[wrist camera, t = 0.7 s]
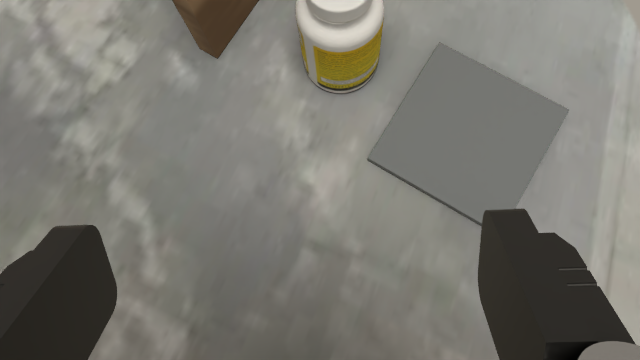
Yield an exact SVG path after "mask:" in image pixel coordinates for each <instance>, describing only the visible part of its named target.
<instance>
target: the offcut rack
mask: <svg viewBox="0 0 640 360" xmlns="http://www.w3.org/2000/svg"><path fill="white" fill-rule="evenodd" d="M172 1H173V2H174V4H175V6H176V8H177V9H178V11H179V13H180V15H181V16H182V18H183V20H184V22H185V23H186V25H187V27H188V29H189V30H190V32H191V34H192V36H193V37H194V39H195V41H196V43H197V44H198V46H199V48H200V49H201V50H203V51H205V52H207V53H208V54H210V55H212V56H214V57H215V58H217V59H218V57H219V56H220V54H221V53H222V52H223V50H224V49H225V47H226V46H227V45H228V43H229V42H230V40H231V39H232V37H233V36H234V35H235V33H236V32H237V30H238V29H239V28H240V26H241V25H242V23H243V22H244V20H245V19H246V18H247V16H248V15H249V13H250V12H251V11H252V9H253V8H254V6H255V5H256V3H257V2H258V1H259V0H172Z"/></svg>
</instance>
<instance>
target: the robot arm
mask: <svg viewBox="0 0 640 360" xmlns="http://www.w3.org/2000/svg"><path fill="white" fill-rule="evenodd" d="M478 287H479V294H480V300H481V303H482V307H483V310H484V313H485V316H486V319H487V322H488V325H489V328H490V331H491V335H492V338H493V341H494V344H495V347H496V350H497V353H498V356H499V359H500V360H640V346H638V345H636V344H635V342H634V341H633V339H632V338H631V336H630V335H629V333H628V331H627V330H626V328H625V327H624V325H623V323H622V322H621V320H620V319H619V317H618V315H617V314H616V312H615V311H614V309H613V307H612V306H611V304H610V303H609V301H608V299H607V298H606V296H605V295H604V293H603V292H602V290H601V288H600V287H599V286H597V282H596V280H595V279H594V277H593V276H592V274H591V272H590V271H587V266H586V264H585V263H584V261H583V260H582V258H581V256H580V255H579V253H578V252H577V250H576V249H575V248H574V247H573V246H572V245H570V244H569V243H568V242H566V241H565V240H564V239H562V238H561V237H559V236H558V235H557V234H555V233H538V231H537V229H536V227H535V225H534V224H533V222H532V220H531V218H530V216H529V214H528V213H527V211H526V210H525V209H501V210H485V212H484V214H483V220H482V231H481V243H480V255H479V267H478ZM116 300H117V286H116V282H115V278H114V275H113V272H112V269H111V266H110V263H109V260H108V257H107V254H106V251H105V247H104V244H103V241H102V238H101V235H100V233H99V231H98V229H97V228H96V227H95V226H93V225H74V226H56V227H54V228H53V229H51V230H50V232H49V233H48V234H47V235H46V236H45V238H44V239H43V240H42V241H41V242H40V243H39V245H38V246H37V247H36V248H35V249H34V250H33V251H29V252H28V253H26V254H25V255H23V256H22V257H21V258H19V259H18V260H16V261H15V262H13V263H12V264H10V265H9V266H7V267H6V269H5V270H4V271H3V272H2V273H1V274H0V360H88V358H89V356H90V354H91V352H92V350H93V349H94V347H95V345H96V343H97V341H98V339H99V338H100V336H101V334H102V332H103V330H104V328H105V326H106V325H107V323H108V321H109V319H110V317H111V315H112V314H113V311H114V309H115V305H116Z"/></svg>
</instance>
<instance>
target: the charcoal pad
mask: <svg viewBox="0 0 640 360" xmlns="http://www.w3.org/2000/svg"><path fill="white" fill-rule="evenodd" d="M568 111H569V109H567V108H565V107H563V106H561V105H559V104H557V103H556V102H554V101H552V100H550V99H548V98H546V97H544V96H542V95H540V94H538V93H536V92H534V91H532V90H531V89H529V88H527V87H525V86H523V85H521V84H519V83H517V82H515V81H513V80H511V79H509V78H508V77H506V76H504V75H502V74H500V73H498V72H496V71H494V70H492V69H490V68H488V67H486V66H484V65H483V64H481V63H479V62H477V61H475V60H473V59H471V58H469V57H467V56H465V55H463V54H461V53H459V52H458V51H456V50H454V49H452V48H450V47H448V46H446V45H444V44H442V43H439V44H438V46H437V47H436V49H435V51H434V52H433V54H432V55H431V57H430V59H429V60H428V62H427V63H426V65H425V67H424V68H423V70H422V72H421V73H420V75H419V76H418V78H417V80H416V81H415V83H414V84H413V86H412V88H411V89H410V91H409V92H408V94H407V96H406V97H405V99H404V101H403V102H402V104H401V105H400V107H399V109H398V110H397V112H396V113H395V115H394V117H393V118H392V120H391V122H390V123H389V125H388V126H387V128H386V130H385V131H384V133H383V134H382V136H381V138H380V139H379V141H378V142H377V144H376V146H375V147H374V149H373V151H372V152H371V154H370V155H369V157H368V161H370V162H371V163H373V164H375V165H377V166H378V167H380V168H382V169H383V170H385V171H387V172H389V173H390V174H392V175H394V176H396V177H397V178H399V179H401V180H403V181H404V182H406V183H408V184H410V185H411V186H413V187H415V188H416V189H418V190H420V191H422V192H423V193H425V194H427V195H429V196H430V197H432V198H434V199H436V200H437V201H439V202H441V203H443V204H444V205H446V206H448V207H449V208H451V209H453V210H455V211H456V212H458V213H460V214H462V215H463V216H465V217H467V218H469V219H470V220H472V221H474V222H476V223H477V224H479V225H481V226H482V220H483V214H484V212H485V210H501V209H515V207H516V206H517V204H518V202H519V200H520V198H521V196H522V195H523V193H524V191H525V189H526V187H527V186H528V184H529V182H530V180H531V178H532V177H533V175H534V173H535V171H536V169H537V168H538V166H539V164H540V162H541V160H542V159H543V157H544V155H545V153H546V151H547V149H548V148H549V146H550V144H551V142H552V140H553V139H554V137H555V135H556V133H557V131H558V130H559V128H560V126H561V124H562V122H563V121H564V119H565V117H566V115H567V113H568Z"/></svg>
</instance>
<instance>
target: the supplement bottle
mask: <svg viewBox="0 0 640 360" xmlns="http://www.w3.org/2000/svg"><path fill="white" fill-rule="evenodd" d="M383 19H384V4H383V0H297V2H296V21H297V26H298V32H299V38H300V44H301V50H302V57H303V61H304V66H305V69H306V72H307V74H308V76H309V77H310V79H311V80H312V81H313V82H314V83H315V84H316V85H317V86H319V87H320V88H322V89H324V90H326V91H329V92H333V93H348V92H352V91H355V90H357V89H359V88H361V87H362V86H364V85H365V84H366V83H367V82H368V81H369V80H370V79H371V78H372V76H373V74H374V73H375V71H376V68H377V65H378V60H379V52H380V44H381V35H382V27H383Z"/></svg>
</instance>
